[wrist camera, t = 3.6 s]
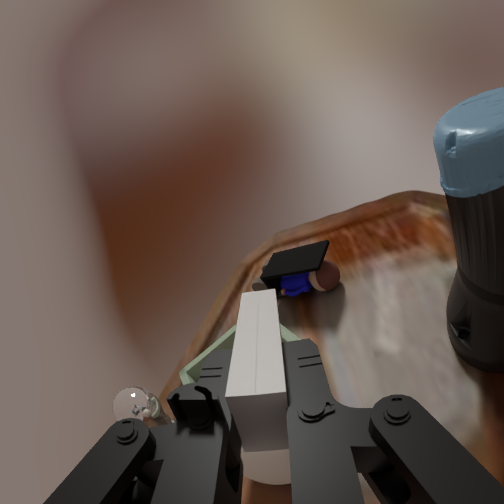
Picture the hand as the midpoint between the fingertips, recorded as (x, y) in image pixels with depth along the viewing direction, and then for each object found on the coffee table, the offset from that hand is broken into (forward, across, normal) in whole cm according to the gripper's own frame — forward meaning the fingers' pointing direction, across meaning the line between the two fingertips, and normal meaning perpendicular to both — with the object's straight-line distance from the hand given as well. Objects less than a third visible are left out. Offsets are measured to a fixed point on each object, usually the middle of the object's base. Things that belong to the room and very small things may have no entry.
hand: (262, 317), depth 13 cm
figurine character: (+33, +5, -14) cm, 36 cm away
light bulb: (+13, -16, -27) cm, 34 cm away
